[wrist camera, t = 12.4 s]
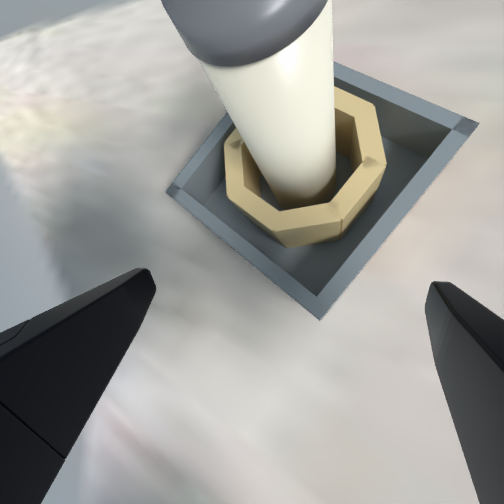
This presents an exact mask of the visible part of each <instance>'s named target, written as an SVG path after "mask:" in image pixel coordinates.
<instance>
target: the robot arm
mask: <svg viewBox="0 0 504 504" xmlns="http://www.w3.org/2000/svg"><path fill="white" fill-rule="evenodd" d="M155 292H156V285H155V282H154V280H153V278H152V275H151V273H150V271H149V270H148V269H146V268H136V269H134V270H131V271H129V272H127V273H125V274H123V275H121V276H119V277H117V278H115V279H113V280H110V281H108V282H106V283H104V284H102V285H100V286H98V287H96V288H94V289H92V290H90V291H87V292H85V293H83V294H81V295H79V296H77V297H75V298H73V299H71V300H69V301H66V302H64V303H62V304H60V305H58V306H56V307H54V308H52V309H50V310H48V311H45V312H43V313H41V314H39V315H37V316H35V317H33V318H32V319H30V320H27V321H24V322H22V323H20V324H18V325H16V326H14V327H12V328H10V329H7V330H5V331H3V332H1V333H0V504H41V502H42V501H43V499H44V497H45V495H46V494H47V492H48V490H49V488H50V486H51V484H52V483H53V481H54V479H55V478H56V476H57V474H58V472H59V470H60V469H61V467H62V465H63V463H64V462H65V459H66V458H67V456H68V454H69V452H70V451H71V449H72V447H73V445H74V444H75V442H76V440H77V438H78V436H79V435H80V433H81V431H82V429H83V428H84V426H85V424H86V422H87V420H88V419H89V417H90V415H91V413H92V412H93V410H94V408H95V406H96V405H97V403H98V401H99V399H100V397H101V396H102V394H103V392H104V390H105V389H106V387H107V385H108V383H109V382H110V380H111V378H112V376H113V374H114V373H115V371H116V369H117V367H118V366H119V364H120V362H121V360H122V359H123V357H124V355H125V353H126V351H127V350H128V348H129V346H130V344H131V343H132V341H133V339H134V337H135V335H136V334H137V332H138V330H139V328H140V326H141V324H142V322H143V320H144V317H145V315H146V313H147V311H148V308H149V306H150V304H151V302H152V299H153V297H154V295H155ZM425 314H426V320H427V325H428V330H429V336H430V341H431V346H432V352H433V357H434V362H435V366H436V369H437V373H438V376H439V379H440V382H441V385H442V388H443V391H444V394H445V397H446V400H447V404H448V407H449V410H450V413H451V416H452V419H453V422H454V425H455V428H456V431H457V435H458V438H459V441H460V444H461V447H462V450H463V453H464V456H465V459H466V462H467V466H468V469H469V472H470V475H471V478H472V481H473V484H474V487H475V490H476V494H477V497H478V500H479V503H480V504H504V320H503V319H502V318H500V317H499V316H497V315H496V314H495V313H493V312H492V311H490V310H489V309H488V308H486V307H485V306H483V305H482V304H481V303H479V302H478V301H476V300H475V299H473V298H472V297H471V296H469V295H468V294H466V293H465V292H464V291H462V290H461V289H459V288H458V287H456V286H455V285H454V284H452V283H450V282H439V281H434V282H432V283H431V284H430V287H429V291H428V295H427V299H426V303H425Z"/></svg>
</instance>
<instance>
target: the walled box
mask: <svg viewBox="0 0 504 504" xmlns="http://www.w3.org/2000/svg"><path fill="white" fill-rule="evenodd" d="M333 72H334V109H335V145H336V191H335V194H334V196H333V198H332V199H331V201H330V202H329V203H324V204H319V205H313V206H307V207H302V208H296V209H290V210H285V209H284V208H282V207H281V205H280V204H279V203H278V201H277V199H276V197H275V196H274V194H273V192H272V190H271V189H270V187H269V185H268V183H267V181H266V180H265V178H264V176H263V174H262V173H261V171H260V169H259V167H258V165H257V164H256V162H255V160H254V158H253V156H252V155H251V153H250V151H249V149H248V148H247V146H246V144H245V142H244V140H243V139H242V137H241V135H240V133H239V132H238V130H237V128H236V126H235V124H234V123H233V121H232V119H231V117H230V116H229V114H228V113H227V114H226V115H225V116H224V118H223V119H222V120H221V121H220V123H219V124H218V125H217V127H216V128H215V129H214V130H213V132H212V133H211V134H210V136H209V137H208V138H207V139H206V141H205V142H204V143H203V145H202V146H201V147H200V148H199V150H198V151H197V152H196V153H195V155H194V156H193V157H192V159H191V160H190V161H189V162H188V164H187V165H186V166H185V168H184V169H183V170H182V171H181V173H180V174H179V175H178V176H177V178H176V179H175V180H174V182H173V183H172V184H171V185H170V187H169V188H168V189H167V191H166V193H167V194H168V195H169V196H171V197H172V198H173V199H174V200H175V201H177V202H178V203H179V204H180V205H181V206H183V207H184V208H185V209H186V210H187V211H189V212H190V213H191V214H192V215H193V216H195V217H196V218H197V219H198V220H199V221H201V222H202V223H203V224H204V225H205V226H207V227H208V228H209V229H210V230H212V231H213V232H214V233H215V234H216V235H218V236H219V237H220V238H221V239H222V240H224V241H225V242H226V243H227V244H228V245H230V246H231V247H232V248H233V249H234V250H236V251H237V252H238V253H239V254H240V255H242V256H243V257H244V258H245V259H246V260H248V261H249V262H250V263H251V264H252V265H254V266H255V267H256V268H257V269H258V270H260V271H261V272H262V273H263V274H264V275H266V276H267V277H268V278H269V279H270V280H272V281H273V282H274V283H275V284H276V285H278V286H279V287H280V288H281V289H282V290H284V291H285V292H286V293H287V294H288V295H290V296H291V297H292V298H293V299H294V300H296V301H297V302H298V303H299V304H300V305H302V306H303V307H304V308H305V309H306V310H308V311H309V312H310V313H311V314H312V315H314V316H315V317H316V318H317V319H318V320H321V319H322V318H323V317H324V316H325V315H326V313H327V312H328V311H329V310H330V308H331V307H332V306H333V305H334V304H335V302H336V301H337V300H338V299H339V297H340V296H341V295H342V294H343V292H344V291H345V290H346V289H347V287H348V286H349V285H350V284H351V283H352V281H353V280H354V279H355V278H356V276H357V275H358V274H359V273H360V271H361V270H362V269H363V268H364V267H365V265H366V264H367V263H368V262H369V260H370V259H371V258H372V257H373V255H374V254H375V253H376V252H377V251H378V249H379V248H380V247H381V246H382V244H383V243H384V242H385V241H386V239H387V238H388V237H389V236H390V234H391V233H392V232H393V231H394V230H395V228H396V227H397V226H398V225H399V223H400V222H401V221H402V220H403V218H404V217H405V216H406V215H407V214H408V212H409V211H410V210H411V209H412V207H413V206H414V205H415V204H416V202H417V201H418V200H419V199H420V198H421V196H422V195H423V194H424V193H425V191H426V190H427V189H428V188H429V186H430V185H431V184H432V183H433V181H434V180H435V179H436V178H437V177H438V175H439V174H440V173H441V172H442V170H443V169H444V168H445V167H446V165H447V164H448V163H449V162H450V161H451V159H452V158H453V157H454V155H455V154H456V153H457V152H458V150H459V149H460V148H461V146H462V145H463V144H464V143H465V141H466V140H467V139H468V138H469V136H470V135H471V134H472V132H473V131H474V130H475V129H476V127H477V126H478V125H479V123H478V122H475V121H473V120H471V119H468V118H466V117H464V116H461V115H459V114H456V113H454V112H452V111H449V110H447V109H445V108H442V107H440V106H438V105H435V104H433V103H431V102H428V101H426V100H423V99H421V98H419V97H416V96H414V95H412V94H409V93H407V92H405V91H402V90H400V89H398V88H395V87H393V86H390V85H388V84H386V83H383V82H381V81H379V80H376V79H374V78H372V77H369V76H367V75H365V74H362V73H360V72H357V71H355V70H353V69H350V68H348V67H346V66H343V65H341V64H339V63H336V62H334V61H333Z"/></svg>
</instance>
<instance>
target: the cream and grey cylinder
mask: <svg viewBox="0 0 504 504" xmlns="http://www.w3.org/2000/svg"><path fill="white" fill-rule="evenodd" d="M161 1H162V4H163V6H164V8H165V10H166V12H167V13H168V15H169V17H170V19H171V20H172V22H173V24H174V26H175V27H176V29H177V31H178V32H179V34H180V36H181V38H182V39H183V41H184V43H185V45H186V46H187V48H188V50H189V51H190V52H191V53H192V54H193V55H194V56H195V57H197V59H198V60H199V62H200V64H201V66H202V67H203V69H204V71H205V73H206V75H207V76H208V78H209V80H210V82H211V83H212V85H213V87H214V89H215V91H216V92H217V94H218V96H219V98H220V99H221V101H222V103H223V105H224V107H225V108H226V110H227V112H228V114H229V116H230V117H231V119H232V121H233V123H234V124H235V126H236V128H237V130H238V132H239V133H240V135H241V137H242V139H243V140H244V142H245V144H246V146H247V148H248V149H249V151H250V153H251V155H252V156H253V158H254V160H255V162H256V164H257V165H258V167H259V169H260V171H261V173H262V174H263V176H264V178H265V180H266V181H267V183H268V185H269V187H270V189H271V190H272V192H273V194H274V196H275V197H276V199H277V201H278V203H279V204H280V205H281V207H282V208H284V209H285V210H290V209H296V208H302V207H307V206H313V205H319V204H324V203H329V202H330V201H331V199H332V198H333V196H334V194H335V191H336V145H335V109H334V72H333V35H332V0H161Z"/></svg>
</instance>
